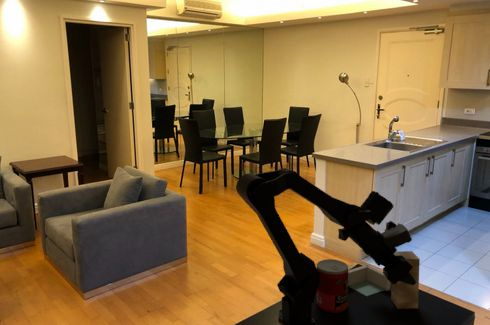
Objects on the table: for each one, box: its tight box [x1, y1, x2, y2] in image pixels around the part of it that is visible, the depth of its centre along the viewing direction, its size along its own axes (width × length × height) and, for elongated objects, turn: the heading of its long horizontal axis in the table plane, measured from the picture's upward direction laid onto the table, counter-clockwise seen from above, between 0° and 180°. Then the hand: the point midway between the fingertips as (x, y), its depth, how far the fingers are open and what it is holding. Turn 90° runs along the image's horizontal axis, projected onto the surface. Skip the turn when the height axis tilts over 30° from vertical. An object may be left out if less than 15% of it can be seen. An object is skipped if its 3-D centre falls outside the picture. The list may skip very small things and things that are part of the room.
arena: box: [348, 264, 391, 298], centre depth 111 cm, size 13×9×4 cm
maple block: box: [390, 250, 421, 310], centre depth 102 cm, size 5×5×13 cm
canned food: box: [316, 258, 349, 314], centre depth 102 cm, size 8×8×11 cm
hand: (410, 278), depth 102 cm, fingers closed on maple block, 5 cm apart
